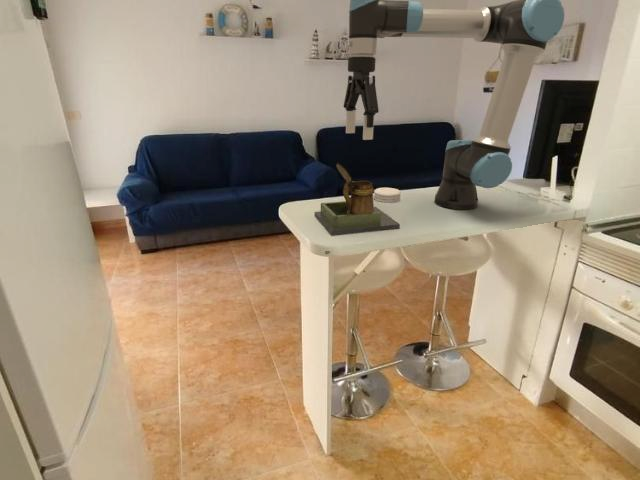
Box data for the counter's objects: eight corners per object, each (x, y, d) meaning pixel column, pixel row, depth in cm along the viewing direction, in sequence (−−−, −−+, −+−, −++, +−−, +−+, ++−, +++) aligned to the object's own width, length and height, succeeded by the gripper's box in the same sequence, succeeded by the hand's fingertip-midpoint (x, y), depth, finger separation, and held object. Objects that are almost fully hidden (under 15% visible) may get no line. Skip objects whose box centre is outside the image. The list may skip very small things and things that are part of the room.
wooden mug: (329, 216, 126) (330, 160, 119) (366, 211, 131) (369, 157, 124) (341, 225, 119) (343, 165, 112) (380, 219, 124) (384, 162, 117)
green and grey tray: (375, 210, 137) (376, 196, 135) (399, 228, 121) (401, 213, 119) (314, 216, 131) (314, 201, 129) (331, 235, 115) (331, 219, 113)
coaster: (390, 194, 156) (391, 186, 155) (405, 201, 148) (406, 192, 146) (368, 197, 152) (369, 188, 151) (382, 204, 144) (383, 195, 142)
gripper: (334, 57, 117) (332, 131, 126) (367, 54, 95) (363, 143, 104) (357, 58, 119) (354, 130, 128) (395, 54, 97) (389, 141, 106)
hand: (358, 136), depth 116 cm, fingers open, 13 cm apart
